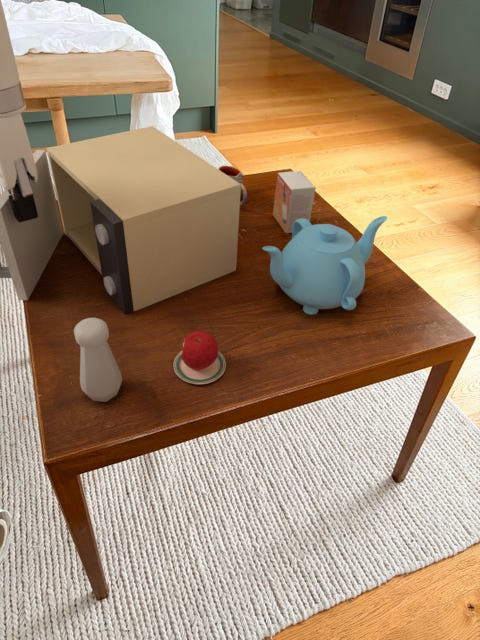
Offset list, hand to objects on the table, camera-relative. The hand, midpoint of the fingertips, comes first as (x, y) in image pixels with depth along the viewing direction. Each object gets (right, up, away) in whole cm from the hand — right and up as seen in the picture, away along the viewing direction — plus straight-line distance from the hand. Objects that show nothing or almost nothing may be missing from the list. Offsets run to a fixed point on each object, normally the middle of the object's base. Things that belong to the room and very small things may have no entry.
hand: (26, 217), depth 78 cm
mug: (+32, +11, +38) cm, 51 cm away
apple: (+28, -24, -2) cm, 36 cm away
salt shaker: (+14, -27, -6) cm, 31 cm away
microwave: (+14, -3, +20) cm, 25 cm away
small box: (+45, +5, +32) cm, 55 cm away
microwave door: (-6, -6, +15) cm, 17 cm away
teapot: (+48, -12, +13) cm, 51 cm away
